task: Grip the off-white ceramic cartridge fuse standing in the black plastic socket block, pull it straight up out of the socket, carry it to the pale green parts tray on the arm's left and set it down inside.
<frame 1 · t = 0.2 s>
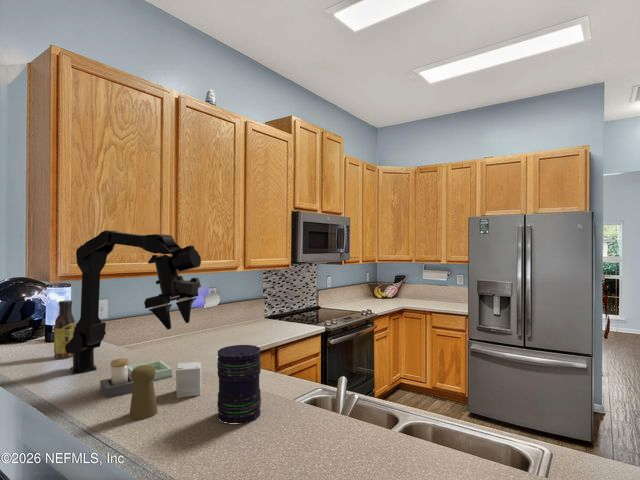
hand: (178, 325, 115), 15 cm above the counter, tool pointing down, fingers open, 9 cm apart
sauce bottle: (64, 357, 137), on the counter
socket block: (119, 390, 105), on the counter
skincare box: (189, 393, 103), on the counter
fuse: (119, 375, 105), in the socket block
storage jar: (239, 416, 89), on the counter
olive pepper mill: (143, 414, 90), on the counter
parts tray: (149, 375, 116), on the counter
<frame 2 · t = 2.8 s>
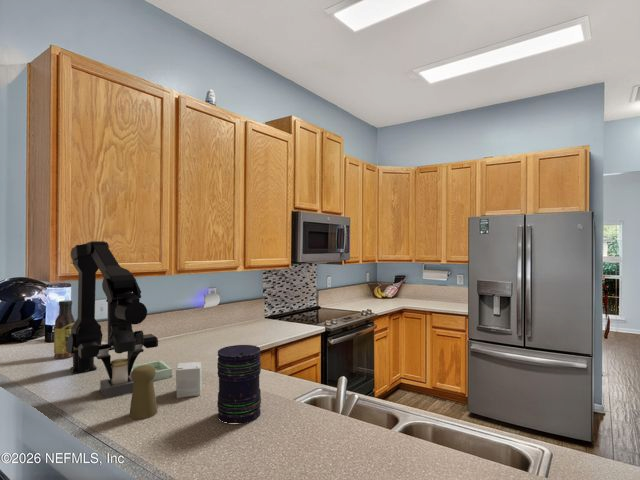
hand: (119, 377, 105), 4 cm above the counter, tool pointing down, fingers closed on fuse, 4 cm apart
fuse: (119, 375, 105), in the socket block, touching gripper
everything else where it was.
when the fingers open (5 cm above the counter, at t = 7.1 s): fuse drops 1 cm, resting on parts tray.
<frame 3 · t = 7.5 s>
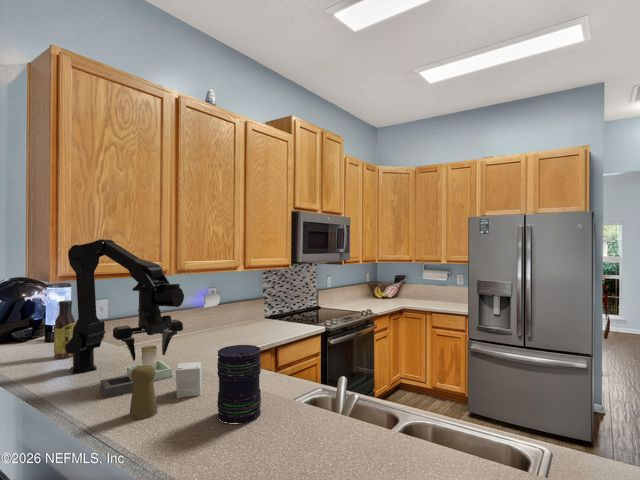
hand: (149, 357, 117), 5 cm above the counter, tool pointing down, fingers open, 8 cm apart
fuse: (149, 360, 116), in the parts tray, point 5 cm above the counter
everything else where it was.
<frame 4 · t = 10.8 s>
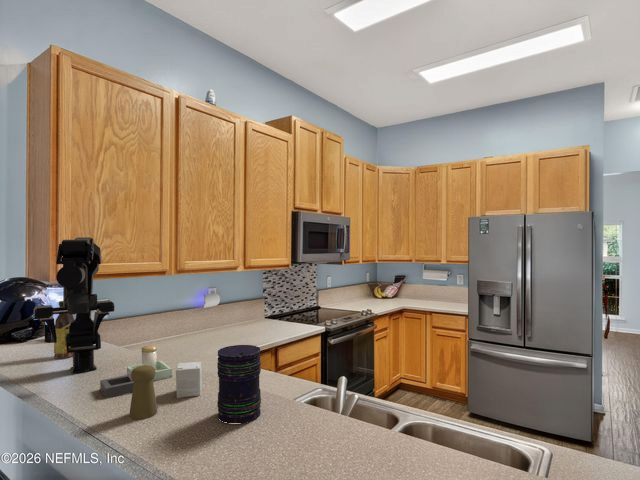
hand: (75, 340, 108), 13 cm above the counter, tool pointing down, fingers open, 9 cm apart
nothing on the counter moved.
at the end: fuse inside the target area on the parts tray (0.0 cm from its centre), point 4.6 cm above the parts tray's base; fuse touching parts tray; the gripper is holding nothing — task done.
